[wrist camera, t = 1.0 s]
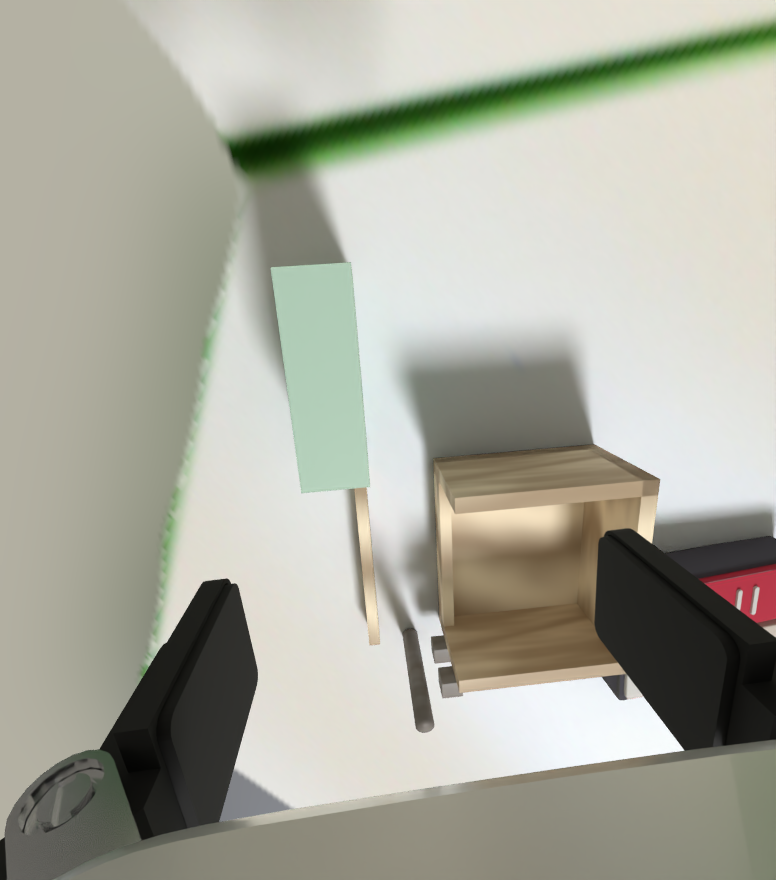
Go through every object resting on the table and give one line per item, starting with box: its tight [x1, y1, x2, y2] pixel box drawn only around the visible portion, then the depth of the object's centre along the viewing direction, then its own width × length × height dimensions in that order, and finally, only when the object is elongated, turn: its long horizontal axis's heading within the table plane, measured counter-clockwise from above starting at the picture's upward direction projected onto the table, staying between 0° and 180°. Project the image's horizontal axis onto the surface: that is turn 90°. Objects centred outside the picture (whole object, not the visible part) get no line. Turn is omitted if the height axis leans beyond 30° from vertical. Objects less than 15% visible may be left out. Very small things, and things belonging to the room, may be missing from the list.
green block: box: [271, 262, 370, 493], centre depth 24 cm, size 12×4×8 cm, turn 4°
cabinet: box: [354, 444, 660, 733], centre depth 29 cm, size 16×18×8 cm
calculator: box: [602, 536, 776, 700], centre depth 34 cm, size 11×4×15 cm
